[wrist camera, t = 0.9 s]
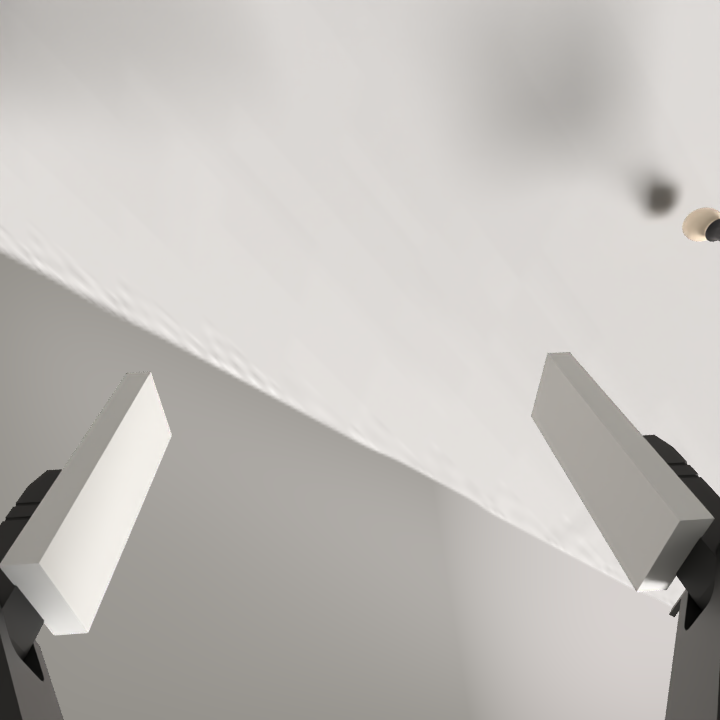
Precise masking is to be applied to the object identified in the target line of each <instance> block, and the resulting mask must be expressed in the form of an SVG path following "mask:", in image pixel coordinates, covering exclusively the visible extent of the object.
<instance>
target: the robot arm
mask: <svg viewBox="0 0 720 720" xmlns="http://www.w3.org/2000/svg"><path fill="white" fill-rule="evenodd" d="M531 417H532V418H533V420H534V422H535V423H536V425H537V427H538V428H539V430H540V432H541V433H542V435H543V437H544V438H545V440H546V442H547V443H548V445H549V447H550V448H551V450H552V452H553V453H554V455H555V457H556V458H557V460H558V462H559V463H560V465H561V467H562V468H563V470H564V472H565V473H566V475H567V477H568V478H569V480H570V482H571V483H572V485H573V487H574V488H575V490H576V492H577V493H578V495H579V497H580V498H581V500H582V502H583V503H584V505H585V507H586V508H587V510H588V512H589V513H590V515H591V517H592V518H593V520H594V522H595V523H596V525H597V527H598V528H599V530H600V532H601V533H602V535H603V537H604V538H605V540H606V542H607V543H608V545H609V547H610V548H611V550H612V552H613V553H614V555H615V557H616V558H617V560H618V562H619V563H620V565H621V567H622V568H623V570H624V572H625V573H626V575H627V577H628V578H629V580H630V582H631V583H632V585H633V587H634V588H635V590H636V592H644V591H657V590H667V589H668V587H669V586H670V584H671V583H672V581H673V580H674V578H675V577H676V575H677V577H678V578H679V580H680V581H681V583H682V584H683V586H684V587H685V588H686V590H685V591H684V592H683V594H682V595H681V597H680V598H679V599H678V601H677V602H676V604H675V605H674V606H673V608H672V610H671V612H670V614H669V615H671V616H673V617H675V616H676V614H677V613H678V611H679V619H678V626H677V633H676V641H675V649H674V656H673V664H672V672H671V679H670V687H669V694H668V702H667V709H666V717H665V720H720V497H719V496H718V495H717V494H716V493H715V492H714V491H713V490H712V488H711V487H710V486H709V485H708V484H707V483H706V482H705V481H704V480H703V479H702V478H701V477H698V473H697V472H696V471H695V470H694V469H693V468H692V467H691V466H690V465H687V462H686V460H685V459H684V458H683V457H682V456H681V455H680V454H679V453H678V452H677V451H676V450H675V449H674V448H673V447H672V446H670V445H669V444H667V443H666V442H664V441H663V440H661V439H660V438H658V437H657V436H655V435H644V436H642V435H641V433H640V432H639V431H638V430H637V429H636V428H635V427H634V425H633V424H632V423H631V422H630V421H629V420H628V419H627V417H626V416H625V415H624V414H623V413H622V412H621V411H620V409H619V408H618V407H617V406H616V405H615V404H614V403H613V401H612V400H611V399H610V398H609V397H608V396H607V395H606V393H605V392H604V391H603V390H602V389H601V388H600V387H599V385H598V384H597V383H596V382H595V381H594V380H593V378H592V377H591V376H590V375H589V374H588V373H587V372H586V370H585V369H584V368H583V367H582V366H581V365H580V364H579V362H578V361H577V360H576V359H575V358H574V357H573V356H572V354H571V353H570V352H566V353H547V357H546V361H545V365H544V369H543V372H542V376H541V380H540V384H539V388H538V392H537V395H536V399H535V403H534V407H533V411H532V415H531ZM171 436H172V434H171V431H170V429H169V425H168V422H167V419H166V417H165V413H164V411H163V408H162V404H161V402H160V398H159V395H158V392H157V389H156V386H155V384H154V381H153V377H152V374H151V372H138V373H126V375H125V376H124V378H123V379H122V380H121V382H120V384H119V385H118V387H117V388H116V390H115V391H114V393H113V394H112V396H111V397H110V399H109V400H108V402H107V403H106V405H105V406H104V408H103V409H102V411H101V412H100V414H99V415H98V417H97V418H96V420H95V422H94V423H93V424H92V426H91V427H90V429H89V430H88V432H87V433H86V435H85V437H84V438H83V439H82V441H81V442H80V444H79V445H78V447H77V448H76V450H75V451H74V453H73V454H72V456H71V457H70V459H69V460H68V462H67V463H66V465H65V467H64V468H63V469H62V470H47V471H46V472H45V473H43V474H42V475H41V476H40V477H39V478H37V479H36V480H35V481H34V482H33V483H31V484H30V485H29V486H28V487H27V488H26V490H25V491H24V493H23V494H22V495H21V497H20V498H19V500H18V501H17V502H16V506H15V507H13V508H12V509H11V511H10V512H9V514H8V515H7V516H6V520H5V521H3V522H2V523H1V525H0V720H64V719H63V716H62V713H61V710H60V707H59V704H58V701H57V698H56V695H55V692H54V688H53V686H52V683H51V679H50V676H49V673H48V670H47V667H46V664H45V661H44V658H43V655H42V651H41V648H40V646H39V645H38V643H37V642H36V641H35V638H36V636H37V635H38V633H39V631H40V629H41V627H42V625H43V623H45V625H46V626H47V627H48V628H49V630H50V631H51V632H52V633H53V635H63V634H77V633H88V632H89V629H90V627H91V625H92V622H93V620H94V617H95V615H96V613H97V610H98V608H99V606H100V603H101V601H102V599H103V596H104V594H105V592H106V589H107V587H108V584H109V582H110V580H111V577H112V575H113V573H114V570H115V568H116V566H117V563H118V561H119V558H120V556H121V554H122V551H123V549H124V547H125V544H126V542H127V540H128V537H129V535H130V532H131V530H132V528H133V525H134V523H135V521H136V518H137V516H138V514H139V511H140V509H141V507H142V504H143V502H144V499H145V497H146V495H147V492H148V490H149V488H150V485H151V483H152V481H153V478H154V476H155V474H156V471H157V469H158V467H159V464H160V462H161V459H162V457H163V455H164V452H165V450H166V448H167V445H168V443H169V441H170V438H171Z"/></svg>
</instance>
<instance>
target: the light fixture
mask: <svg viewBox="0 0 720 720" xmlns="http://www.w3.org/2000/svg"><path fill="white" fill-rule="evenodd" d="M682 230H683V233H684V235H685V236H686V237H687V238H688V239H690V240H693V241H705V240H708V241H717V240H718V241H720V212H719V211H717V210H715V209H713V208H700V209H697V210H695V211H693V212H691V213H690V214H689V215H688V216H687V217H686V218H685V220H684V222H683V226H682Z"/></svg>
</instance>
